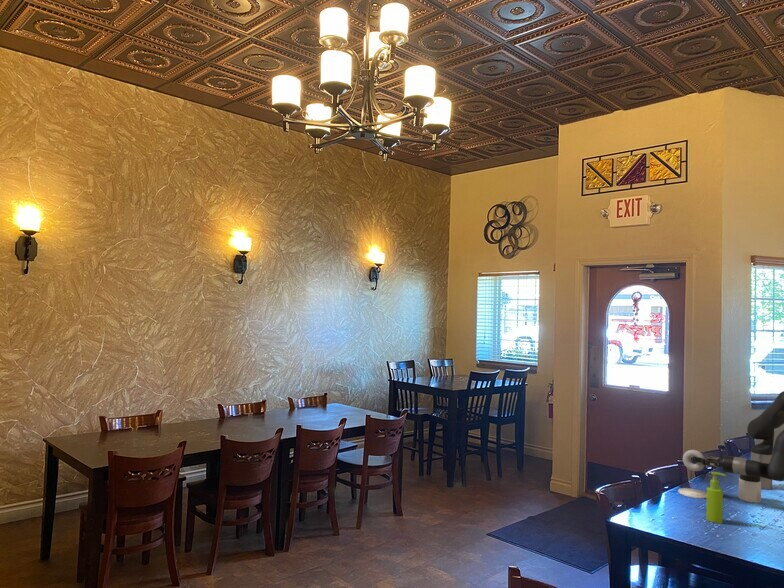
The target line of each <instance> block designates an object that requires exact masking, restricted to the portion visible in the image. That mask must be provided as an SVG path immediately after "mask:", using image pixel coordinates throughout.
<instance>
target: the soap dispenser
mask: <svg viewBox="0 0 784 588" xmlns="http://www.w3.org/2000/svg"><path fill="white" fill-rule="evenodd" d="M711 475H712V478H711V479H709V480H710V482H709V483H710V485H709V486H707V487H706V493H707V498H706V507H705V508H706V513H705V514H706V517H705V520H706V519H707V520H708V521H707V520H706V521H707V522H709V521H711V522H710V523H713V522H714V523H713V524H723V515H724V514H723V511H724V509H723V508H724V507H723V506H724V505H723V504H724V492H723V491H724V490H723V489H722V488H721V487H720V480H718V476H723V477H726V476H727V474H726V473H723V472H718V471H711Z"/></svg>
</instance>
